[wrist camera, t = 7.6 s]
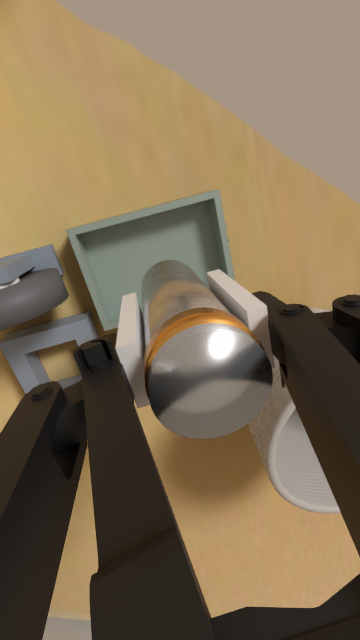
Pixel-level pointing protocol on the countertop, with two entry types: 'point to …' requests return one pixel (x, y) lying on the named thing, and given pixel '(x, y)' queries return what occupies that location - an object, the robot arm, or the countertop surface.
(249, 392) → the pin
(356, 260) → the countertop surface
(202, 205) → the tray
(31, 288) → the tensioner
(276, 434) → the planter
